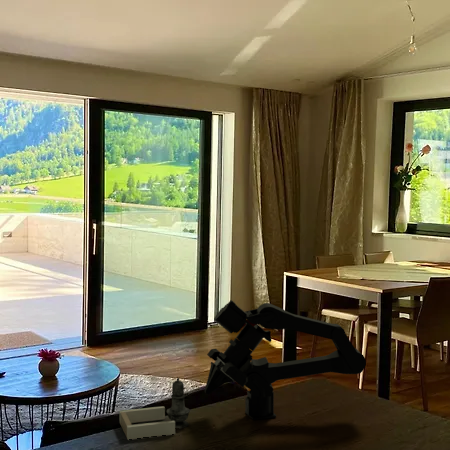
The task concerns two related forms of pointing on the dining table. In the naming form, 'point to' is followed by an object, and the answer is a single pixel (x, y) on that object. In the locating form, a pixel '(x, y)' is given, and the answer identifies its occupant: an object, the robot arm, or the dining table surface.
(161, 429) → the white shallow tray
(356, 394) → the dining table surface
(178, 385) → the salt shaker
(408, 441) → the dining table surface
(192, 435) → the dining table surface
